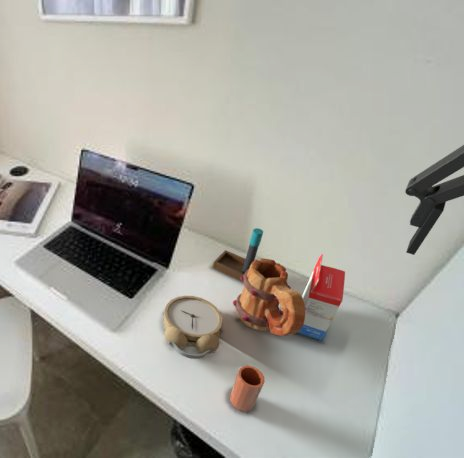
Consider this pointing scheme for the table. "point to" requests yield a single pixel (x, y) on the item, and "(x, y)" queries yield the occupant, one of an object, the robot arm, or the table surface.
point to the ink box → (322, 299)
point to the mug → (269, 300)
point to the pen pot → (246, 388)
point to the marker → (252, 248)
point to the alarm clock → (192, 325)
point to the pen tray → (230, 264)
